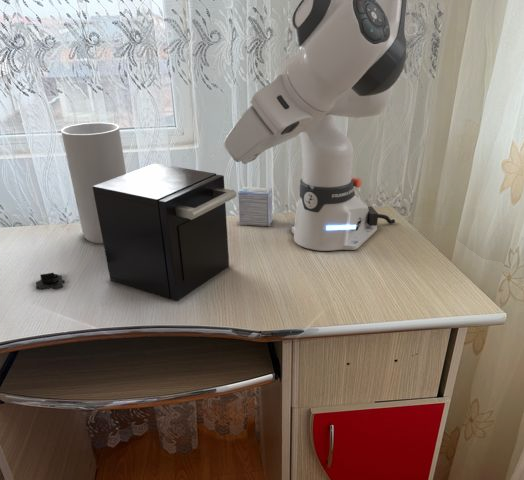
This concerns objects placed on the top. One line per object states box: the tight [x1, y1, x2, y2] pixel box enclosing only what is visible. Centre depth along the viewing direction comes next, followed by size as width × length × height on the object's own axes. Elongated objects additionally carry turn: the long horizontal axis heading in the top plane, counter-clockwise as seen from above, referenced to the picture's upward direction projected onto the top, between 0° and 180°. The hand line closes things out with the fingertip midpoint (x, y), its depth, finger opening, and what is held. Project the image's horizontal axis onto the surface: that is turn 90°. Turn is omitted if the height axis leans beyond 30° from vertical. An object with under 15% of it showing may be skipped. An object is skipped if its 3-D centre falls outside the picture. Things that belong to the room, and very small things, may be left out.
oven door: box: [158, 174, 237, 302], centre depth 105 cm, size 6×18×20 cm, turn 149°
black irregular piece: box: [35, 272, 65, 291], centre depth 111 cm, size 6×2×6 cm
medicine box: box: [237, 186, 273, 227], centre depth 137 cm, size 8×4×9 cm, turn 77°
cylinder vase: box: [60, 122, 127, 244], centre depth 127 cm, size 12×12×25 cm
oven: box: [92, 163, 218, 300], centre depth 110 cm, size 16×18×20 cm
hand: (245, 159), depth 92 cm, fingers closed
